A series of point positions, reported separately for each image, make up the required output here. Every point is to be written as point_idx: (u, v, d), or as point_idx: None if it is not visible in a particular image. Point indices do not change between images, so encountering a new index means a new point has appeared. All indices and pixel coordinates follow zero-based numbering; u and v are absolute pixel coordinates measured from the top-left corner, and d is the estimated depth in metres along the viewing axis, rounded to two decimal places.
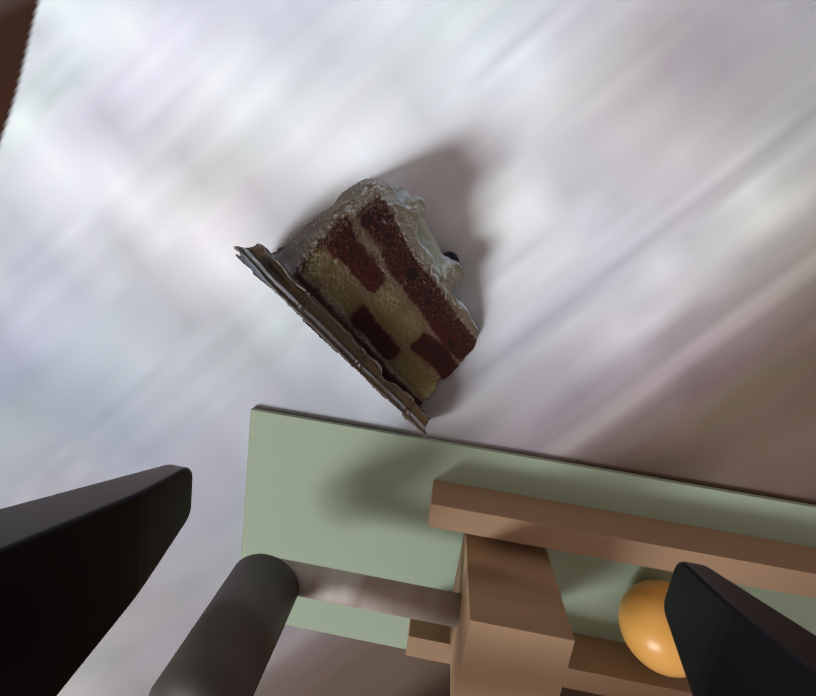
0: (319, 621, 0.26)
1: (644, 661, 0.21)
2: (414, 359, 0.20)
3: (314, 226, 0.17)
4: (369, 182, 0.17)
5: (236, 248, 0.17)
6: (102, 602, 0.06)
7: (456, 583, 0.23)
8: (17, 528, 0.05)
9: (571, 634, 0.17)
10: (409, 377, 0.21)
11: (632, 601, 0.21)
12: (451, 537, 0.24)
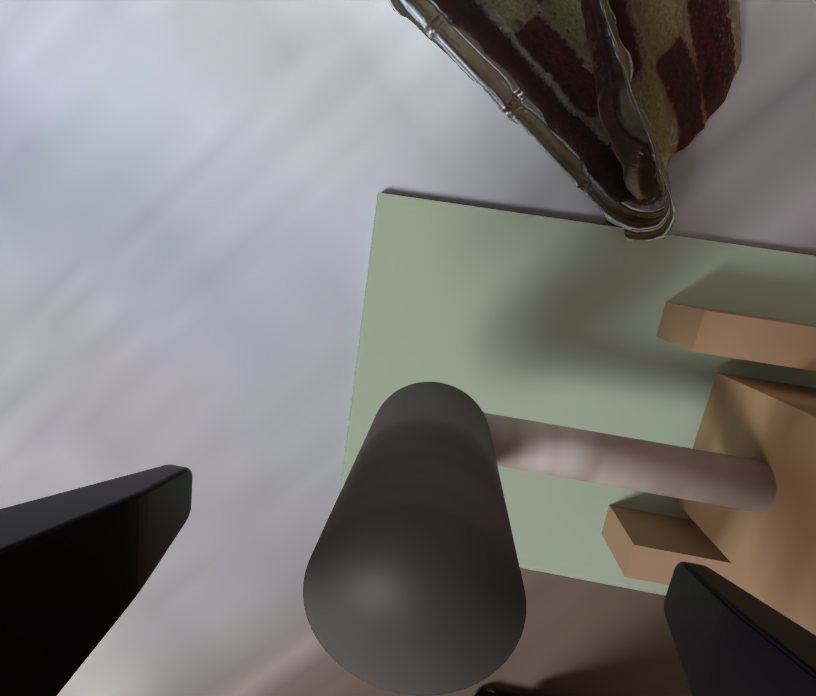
0: None
1: None
2: (656, 93, 0.12)
3: None
4: None
5: None
6: (102, 602, 0.06)
7: None
8: (17, 528, 0.05)
9: None
10: None
11: None
12: (683, 399, 0.15)
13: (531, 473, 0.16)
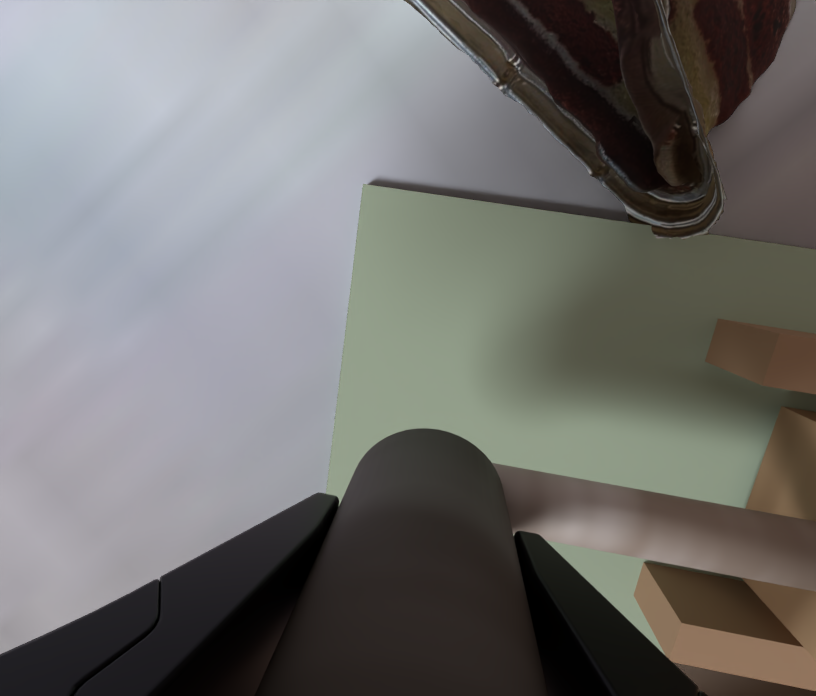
0: None
1: None
2: (693, 48, 0.09)
3: None
4: None
5: None
6: None
7: None
8: (241, 573, 0.05)
9: None
10: None
11: None
12: (737, 437, 0.13)
13: None
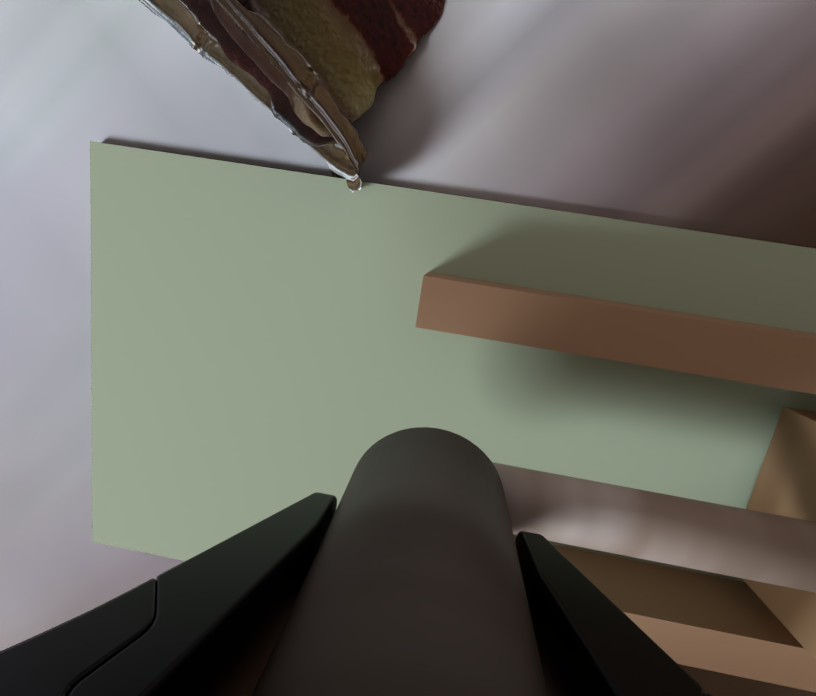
0: None
1: None
2: (313, 1, 0.10)
3: None
4: None
5: None
6: None
7: None
8: (237, 573, 0.05)
9: None
10: (312, 49, 0.10)
11: None
12: (460, 388, 0.13)
13: (299, 475, 0.14)
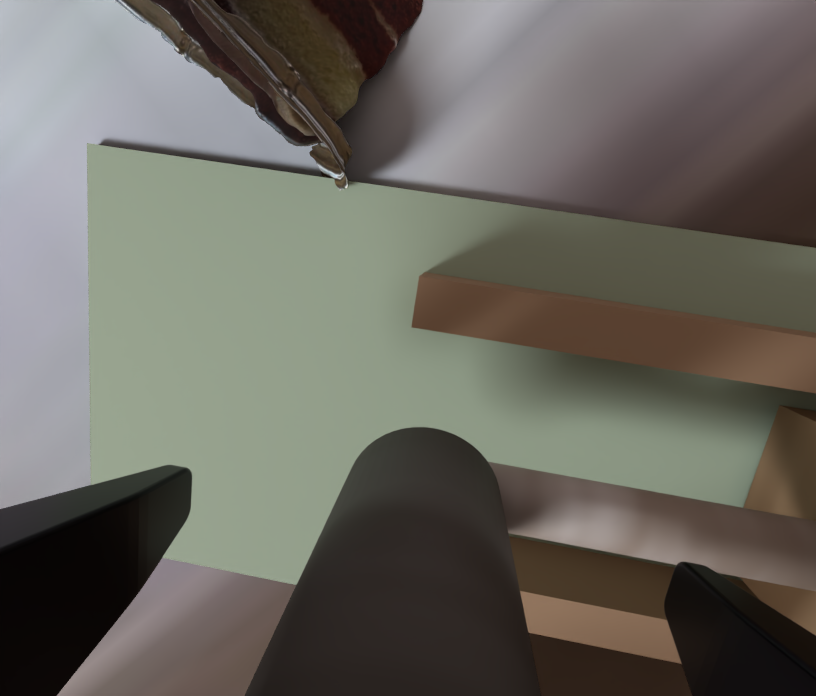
0: (228, 552, 0.15)
1: None
2: (293, 1, 0.10)
3: None
4: None
5: None
6: (102, 602, 0.06)
7: None
8: (17, 528, 0.05)
9: None
10: (293, 49, 0.10)
11: None
12: (457, 388, 0.13)
13: (297, 476, 0.14)
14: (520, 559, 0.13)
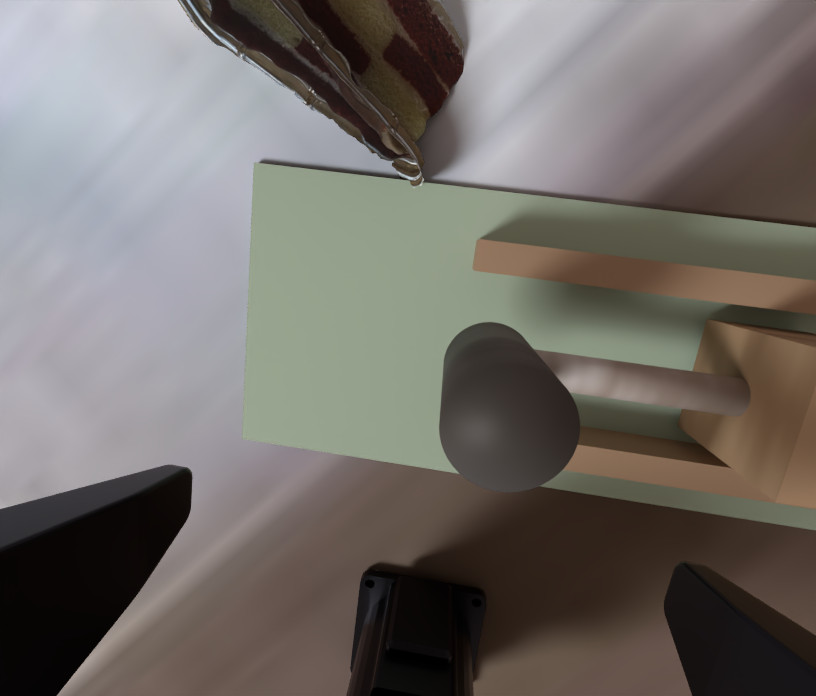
0: (339, 441, 0.22)
1: None
2: (390, 75, 0.17)
3: None
4: None
5: None
6: (102, 602, 0.06)
7: None
8: (17, 528, 0.05)
9: None
10: (390, 103, 0.17)
11: None
12: (498, 317, 0.20)
13: (389, 383, 0.21)
14: None
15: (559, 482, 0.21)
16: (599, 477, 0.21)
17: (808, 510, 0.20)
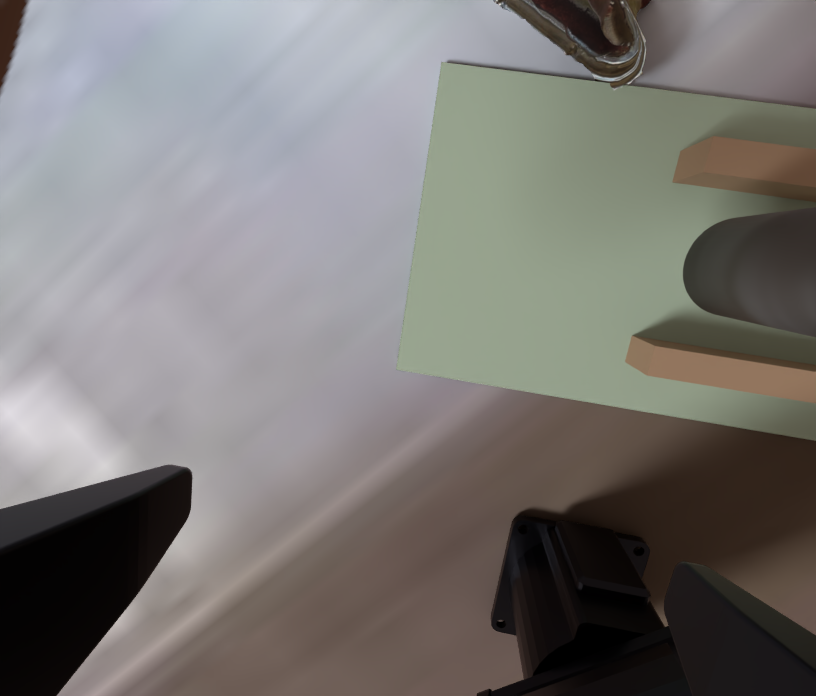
0: (503, 372, 0.20)
1: None
2: None
3: None
4: None
5: None
6: (102, 602, 0.06)
7: None
8: (17, 528, 0.05)
9: None
10: None
11: None
12: (694, 237, 0.18)
13: (566, 309, 0.19)
14: (742, 355, 0.18)
15: (742, 420, 0.20)
16: (787, 414, 0.19)
17: None
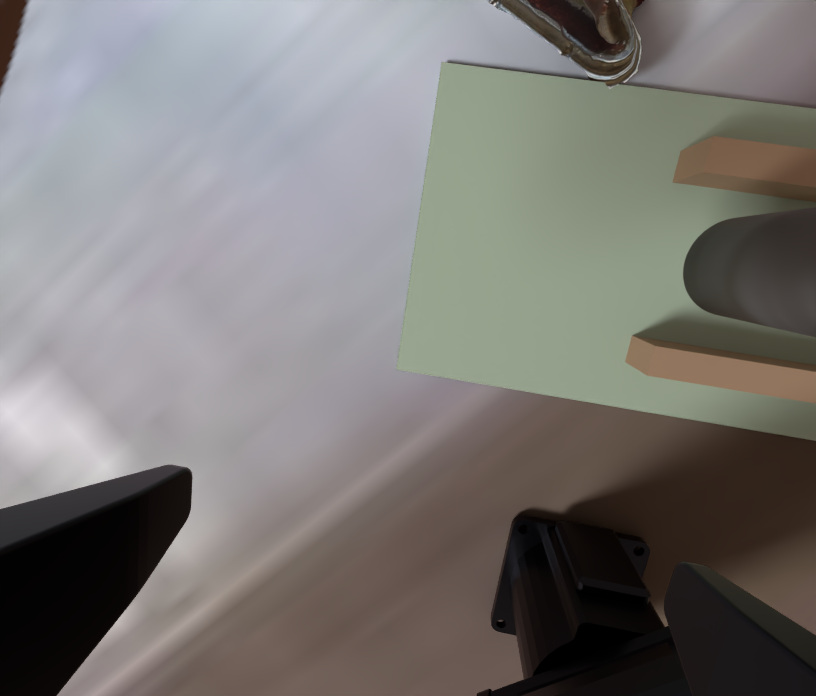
0: (503, 372, 0.20)
1: None
2: None
3: None
4: None
5: None
6: (102, 602, 0.06)
7: None
8: (17, 528, 0.05)
9: None
10: None
11: None
12: (694, 237, 0.18)
13: (566, 309, 0.19)
14: (742, 355, 0.18)
15: (742, 420, 0.20)
16: (787, 415, 0.19)
17: None
